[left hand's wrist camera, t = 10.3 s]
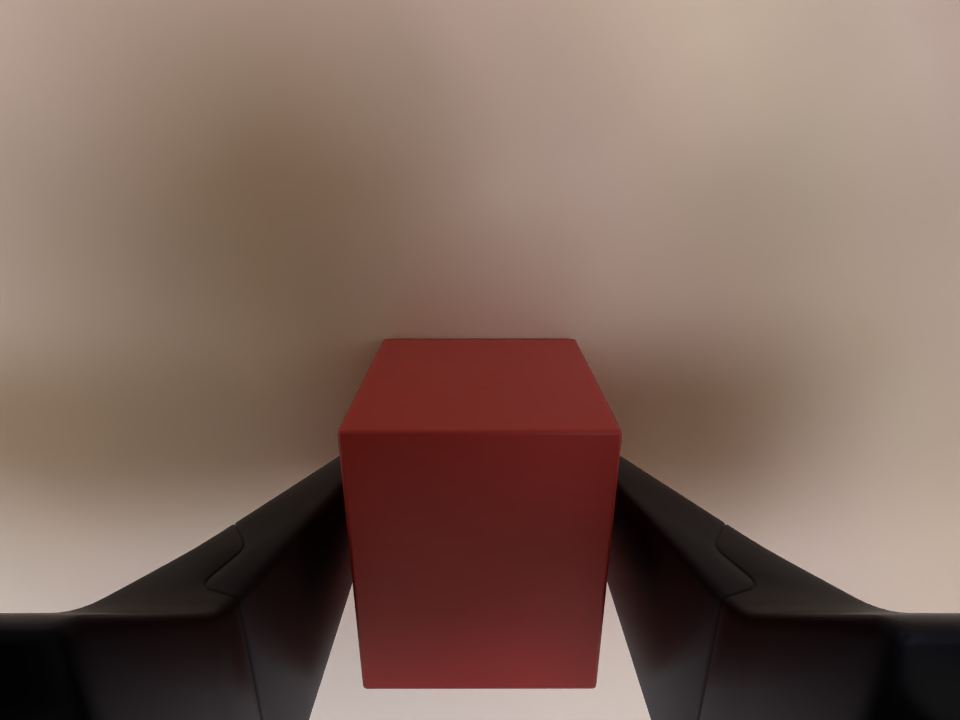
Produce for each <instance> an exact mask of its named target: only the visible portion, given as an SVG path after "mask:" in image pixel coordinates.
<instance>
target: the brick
mask: <svg viewBox="0 0 960 720" xmlns="http://www.w3.org/2000/svg"><path fill="white" fill-rule="evenodd" d="M621 439H622V432H621V429H620V427H619V425H618V423H617V421H616V419H615V417H614V415H613V413H612V411H611V409H610V408H609V406H608V404H607V402H606V400H605V398H604V396H603V394H602V392H601V390H600V388H599V386H598V384H597V382H596V380H595V378H594V376H593V374H592V372H591V370H590V368H589V366H588V364H587V362H586V360H585V358H584V356H583V354H582V352H581V350H580V348H579V347H578V345H577V343H576V341H575V340H573V339H386V340H384V341H383V343H382V345H381V347H380V349H379V351H378V353H377V355H376V357H375V359H374V361H373V363H372V365H371V367H370V369H369V371H368V373H367V375H366V377H365V379H364V381H363V383H362V385H361V387H360V389H359V391H358V393H357V395H356V397H355V399H354V401H353V403H352V405H351V407H350V409H349V411H348V413H347V415H346V417H345V419H344V420H343V422H342V424H341V426H340V428H339V431H338V443H339V453H340V463H341V472H342V482H343V492H344V502H345V512H346V522H347V531H348V541H349V551H350V561H351V571H352V581H353V590H354V600H355V610H356V620H357V630H358V640H359V649H360V659H361V669H362V679H363V686H364V688H366V689H546V688H595V687H596V682H597V672H598V663H599V653H600V643H601V633H602V624H603V614H604V604H605V595H606V585H607V575H608V565H609V556H610V546H611V536H612V527H613V517H614V507H615V497H616V488H617V478H618V468H619V459H620V449H621Z"/></svg>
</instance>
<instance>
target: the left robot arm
mask: <svg viewBox="0 0 960 720" xmlns="http://www.w3.org/2000/svg"><path fill="white" fill-rule="evenodd" d="M352 582H353V581H352V571H351V561H350V551H349V541H348V531H347V522H346V512H345V502H344V492H343V482H342V472H341V463H340V456H339V457H337V458H336V459H334V460H333V461H331V462H330V463H328V464H326V465H325V466H323V467H322V468H320V469H319V470H317V471H316V472H314V473H312V474H311V475H309V476H308V477H306V478H305V479H303V480H302V481H300V482H298V483H297V484H295V485H294V486H292V487H291V488H289V489H288V490H286V491H285V492H283V493H281V494H280V495H278V496H277V497H275V498H274V499H272V500H270V501H269V502H267V503H266V504H264V505H263V506H261V507H260V508H258V509H256V510H255V511H253V512H252V513H250V514H249V515H247V516H246V517H244V518H242V519H241V520H239V521H238V522H236V524H235V525H231V526H230V527H228V528H227V529H225V530H224V531H222V532H221V533H219V534H218V535H216V536H214V537H213V538H211V539H209V540H208V541H206V542H204V543H203V544H201V545H200V546H198V547H196V548H195V549H193V550H191V551H189V552H188V553H186V554H184V555H182V556H180V557H179V558H177V559H175V560H173V561H171V562H170V563H168V564H166V565H164V566H162V567H160V568H159V569H157V570H155V571H153V572H151V573H149V574H148V575H146V576H144V577H142V578H140V579H138V580H137V581H135V582H133V583H131V584H129V585H127V586H126V587H124V588H122V589H120V590H118V591H116V592H114V593H113V594H111V595H109V596H107V597H105V598H103V599H101V600H99V601H97V602H95V603H93V604H90V605H88V606H85V607H82V608H79V609H75V610H72V611H67V612H60V613H0V720H309V718H310V715H311V711H312V708H313V705H314V702H315V699H316V696H317V692H318V689H319V686H320V683H321V680H322V677H323V674H324V670H325V667H326V664H327V661H328V658H329V655H330V652H331V648H332V645H333V642H334V639H335V636H336V633H337V630H338V626H339V623H340V620H341V617H342V614H343V611H344V607H345V604H346V601H347V598H348V595H349V592H350V589H351V585H352ZM607 582H608V585H609V588H610V592H611V595H612V598H613V601H614V604H615V607H616V610H617V614H618V617H619V620H620V623H621V626H622V629H623V633H624V636H625V639H626V642H627V645H628V648H629V651H630V655H631V658H632V661H633V664H634V667H635V670H636V673H637V677H638V680H639V683H640V686H641V689H642V692H643V695H644V699H645V702H646V705H647V708H648V711H649V714H650V718H651V720H960V613H900V612H893V611H889V610H885V609H881V608H878V607H875V606H872V605H870V604H867V603H865V602H863V601H861V600H859V599H857V598H855V597H853V596H851V595H849V594H847V593H846V592H844V591H842V590H840V589H838V588H836V587H835V586H833V585H831V584H829V583H827V582H825V581H824V580H822V579H820V578H818V577H816V576H814V575H812V574H811V573H809V572H807V571H805V570H803V569H801V568H800V567H798V566H796V565H794V564H792V563H790V562H789V561H787V560H785V559H783V558H781V557H780V556H778V555H776V554H774V553H773V552H771V551H769V550H767V549H765V548H764V547H762V546H760V545H759V544H757V543H756V542H754V541H752V540H751V539H749V538H747V537H746V536H744V535H743V534H741V533H739V532H738V531H736V530H735V529H733V528H732V527H730V526H729V525H725V523H724V522H722V521H721V520H719V519H718V518H716V517H714V516H713V515H711V514H710V513H708V512H707V511H705V510H704V509H702V508H700V507H699V506H697V505H696V504H694V503H693V502H691V501H690V500H688V499H686V498H685V497H683V496H682V495H680V494H679V493H677V492H676V491H674V490H672V489H671V488H669V487H668V486H666V485H665V484H663V483H662V482H660V481H658V480H657V479H655V478H654V477H652V476H651V475H649V474H648V473H646V472H645V471H643V470H641V469H640V468H638V467H637V466H635V465H634V464H632V463H631V462H629V461H627V460H626V459H624V458H623V457H621V456H620V459H619V468H618V478H617V488H616V497H615V507H614V517H613V527H612V536H611V546H610V556H609V565H608V575H607Z"/></svg>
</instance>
